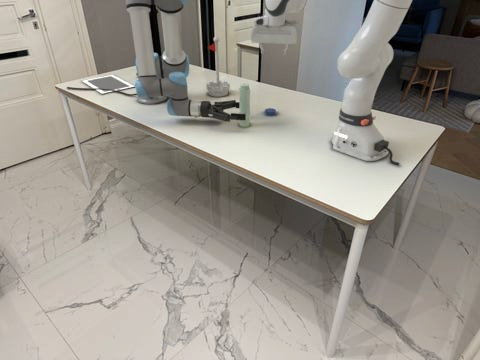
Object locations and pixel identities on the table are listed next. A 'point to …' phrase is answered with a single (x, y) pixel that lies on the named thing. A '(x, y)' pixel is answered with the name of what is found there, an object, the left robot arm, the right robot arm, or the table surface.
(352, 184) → the table surface
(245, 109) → the pale green cylinder
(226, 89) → the flag stand
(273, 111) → the lid
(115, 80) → the tablet
